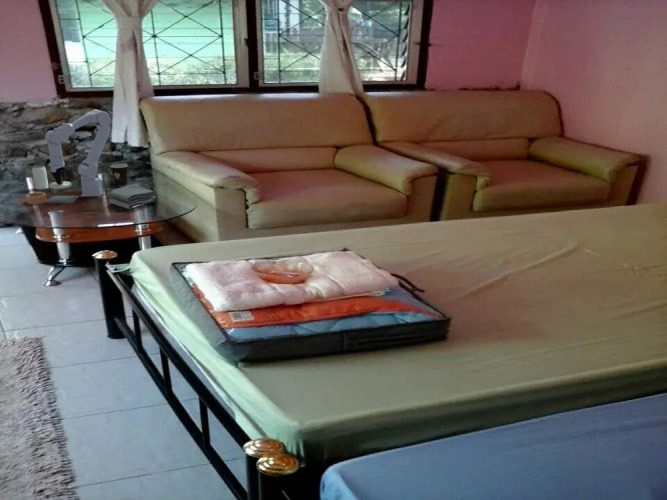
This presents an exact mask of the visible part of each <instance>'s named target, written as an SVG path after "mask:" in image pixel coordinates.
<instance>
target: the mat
mask: <svg viewBox="0 0 667 500" xmlns="http://www.w3.org/2000/svg"><path fill="white" fill-rule="evenodd" d="M79 197H80V195H52V196H51V197H50V198H49V199H48V200H46V202H45V204H73V203H74V202H75V201H76V200H77V199H79Z"/></svg>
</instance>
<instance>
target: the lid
mask: <svg viewBox="0 0 667 500" xmlns="http://www.w3.org/2000/svg"><path fill="white" fill-rule="evenodd" d="M48 187H49V188H50V189H54V190H55V189H56V190H59V189H61V190H62V189H68V188H71V187H72V181H71V182H70V181H65V180H64V182H63V180H62V183H61V184H57V183H56V181H54V182H51V183H48Z"/></svg>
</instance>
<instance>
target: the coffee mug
mask: <svg viewBox="0 0 667 500" xmlns="http://www.w3.org/2000/svg"><path fill="white" fill-rule="evenodd" d="M108 169H110V170H111V173H112V174H110V173H109V172H108ZM105 172H106V173H107V175H109V176H110V177H112V178H113V181H114V184H115V185H116V186H123V185H127V184H128V164H125V163H116V164H112V165H110V167H106V168H105Z"/></svg>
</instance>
